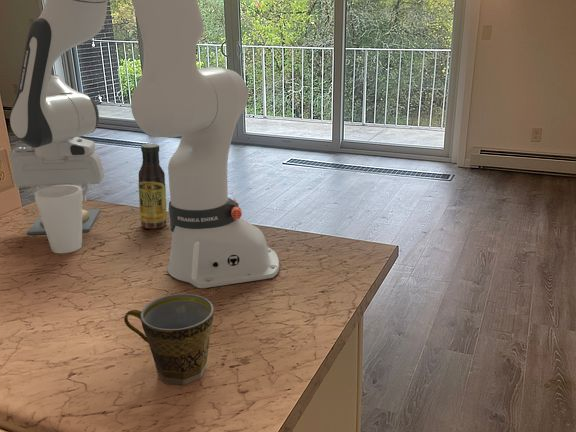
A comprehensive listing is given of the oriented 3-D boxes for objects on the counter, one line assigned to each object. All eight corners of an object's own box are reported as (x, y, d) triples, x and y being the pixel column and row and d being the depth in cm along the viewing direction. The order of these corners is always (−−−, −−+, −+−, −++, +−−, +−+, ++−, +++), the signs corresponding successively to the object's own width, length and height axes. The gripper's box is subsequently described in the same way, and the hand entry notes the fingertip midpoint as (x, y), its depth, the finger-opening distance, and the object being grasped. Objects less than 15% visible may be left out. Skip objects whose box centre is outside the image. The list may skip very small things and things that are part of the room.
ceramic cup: (224, 354, 84) (221, 296, 81) (204, 397, 75) (200, 333, 72) (143, 346, 86) (137, 289, 83) (114, 387, 77) (106, 324, 74)
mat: (100, 211, 144) (100, 209, 144) (89, 231, 131) (89, 229, 131) (44, 213, 142) (43, 211, 142) (27, 234, 129) (26, 231, 129)
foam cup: (79, 256, 118) (71, 198, 113) (36, 256, 118) (26, 198, 113) (95, 239, 127) (87, 184, 122) (54, 238, 127) (46, 184, 122)
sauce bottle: (138, 230, 132) (130, 148, 125) (144, 220, 137) (136, 142, 130) (166, 230, 132) (159, 148, 125) (170, 220, 137) (164, 142, 130)
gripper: (2, 150, 126) (13, 208, 131) (96, 147, 128) (103, 204, 133) (12, 144, 132) (22, 199, 136) (101, 141, 134) (107, 196, 139)
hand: (62, 201), depth 135 cm, fingers open, 8 cm apart
